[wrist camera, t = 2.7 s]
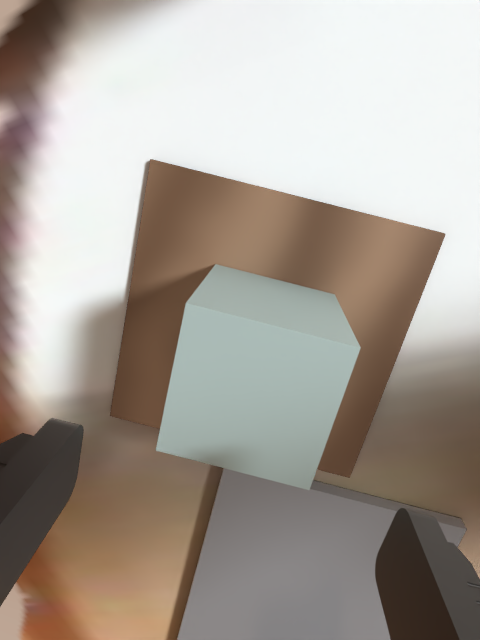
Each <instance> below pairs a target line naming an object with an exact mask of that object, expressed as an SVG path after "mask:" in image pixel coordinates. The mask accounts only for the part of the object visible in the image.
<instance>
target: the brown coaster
mask: <svg viewBox="0 0 480 640" xmlns="http://www.w3.org/2000/svg"><path fill="white" fill-rule="evenodd" d="M444 237H445V233H441V232H437V231H433V230H429V229H425V228H421V227H417V226H413V225H409V224H405V223H401V222H397V221H393V220H389V219H386V218H382V217H378V216H374V215H370V214H366V213H362V212H358V211H354V210H350V209H346V208H342V207H338V206H334V205H330V204H326V203H322V202H318V201H314V200H310V199H306V198H303V197H299V196H295V195H291V194H287V193H283V192H279V191H275V190H271V189H267V188H263V187H259V186H255V185H251V184H247V183H243V182H239V181H235V180H231V179H227V178H223V177H220V176H216V175H212V174H208V173H204V172H200V171H196V170H192V169H188V168H184V167H180V166H176V165H172V164H168V163H164V162H160V161H156V160H152V159H150V165H149V172H148V178H147V184H146V191H145V197H144V203H143V210H142V216H141V222H140V229H139V235H138V241H137V248H136V254H135V260H134V267H133V273H132V279H131V285H130V292H129V298H128V304H127V311H126V317H125V323H124V330H123V336H122V342H121V349H120V355H119V361H118V368H117V374H116V380H115V387H114V393H113V399H112V406H111V412H110V416H113V417H116V418H120V419H124V420H128V421H132V422H136V423H140V424H144V425H147V426H151V427H155V428H159V429H160V427H161V422H162V417H163V412H164V407H165V402H166V398H167V393H168V388H169V383H170V378H171V373H172V368H173V363H174V359H175V354H176V349H177V344H178V339H179V334H180V329H181V325H182V320H183V315H184V310H185V305H186V302H187V301H188V300H189V298H190V297H191V296H192V294H193V293H194V292H195V290H196V289H197V288H198V287H199V285H200V284H201V283H202V281H203V280H204V279H205V277H206V276H207V275H208V273H209V272H210V271H211V270H212V268H213V267H214V266H215V264H217V265H221V266H225V267H229V268H233V269H237V270H241V271H245V272H249V273H253V274H256V275H260V276H264V277H268V278H272V279H276V280H280V281H284V282H288V283H292V284H296V285H300V286H304V287H307V288H311V289H315V290H319V291H323V292H327V293H331V294H335V296H336V298H337V300H338V302H339V304H340V306H341V308H342V310H343V312H344V314H345V317H346V319H347V321H348V323H349V325H350V327H351V329H352V331H353V333H354V335H355V337H356V339H357V341H358V343H359V345H360V347H361V348H360V351H359V354H358V357H357V359H356V362H355V365H354V368H353V370H352V373H351V376H350V379H349V382H348V384H347V387H346V390H345V393H344V395H343V398H342V401H341V404H340V407H339V409H338V412H337V415H336V418H335V420H334V423H333V426H332V429H331V432H330V434H329V437H328V440H327V443H326V445H325V448H324V451H323V454H322V456H321V459H320V462H319V465H318V468H317V469H318V470H321V471H325V472H329V473H333V474H337V475H341V476H345V477H348V478H350V475H351V473H352V470H353V468H354V465H355V463H356V460H357V458H358V455H359V453H360V450H361V448H362V445H363V442H364V440H365V437H366V435H367V432H368V430H369V427H370V425H371V422H372V420H373V417H374V415H375V412H376V409H377V407H378V404H379V402H380V399H381V397H382V394H383V392H384V389H385V387H386V384H387V382H388V379H389V377H390V374H391V371H392V369H393V366H394V364H395V361H396V359H397V356H398V354H399V351H400V349H401V346H402V344H403V341H404V338H405V336H406V333H407V331H408V328H409V326H410V323H411V321H412V318H413V316H414V313H415V311H416V308H417V305H418V303H419V300H420V298H421V295H422V293H423V290H424V288H425V285H426V283H427V280H428V278H429V275H430V272H431V270H432V267H433V265H434V262H435V260H436V257H437V255H438V252H439V250H440V247H441V245H442V242H443V239H444Z"/></svg>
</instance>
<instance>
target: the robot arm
mask: <svg viewBox="0 0 480 640" xmlns="http://www.w3.org/2000/svg"><path fill="white" fill-rule="evenodd" d="M82 439H83V426H82V425H78V424H74V423H70V422H66V421H62V420H58V419H54V418H51V419H50V420H49V421H47V423H46V424H45V425H44V426H43V427H42V428H41V429H40V430H39V431H38V432H37V433H36V434H35V435H34V436H32V435H28V434H24V433H22V434H20V435H18V436H16V437H14V438H12V439H10V440H7V441H5V442H3V443H1V444H0V606H1V605H2V603H3V601H4V600H5V598H6V597H7V595H8V594H9V592H10V591H11V589H12V587H13V586H14V584H15V583H16V581H17V580H18V578H19V577H20V575H21V573H22V572H23V570H24V569H25V567H26V566H27V564H28V563H29V561H30V559H31V558H32V556H33V555H34V553H35V552H36V550H37V549H38V547H39V545H40V544H41V542H42V541H43V539H44V538H45V536H46V535H47V533H48V531H49V530H50V528H51V527H52V525H53V524H54V522H55V521H56V519H57V517H58V516H59V514H60V513H61V511H62V510H63V508H64V507H65V505H66V503H67V502H68V500H69V498H70V496H71V494H72V491H73V489H74V486H75V483H76V479H77V474H78V467H79V460H80V453H81V446H82ZM375 578H376V584H377V588H378V592H379V596H380V600H381V603H382V607H383V611H384V615H385V619H386V623H387V627H388V631H389V635H390V639H391V640H480V579H479V577H478V575H477V573H476V572H475V570H474V568H473V566H472V564H471V563H470V562H469V560H468V559H467V558H466V557H465V556H464V555H463V554H462V552H461V551H460V550H459V549H458V548H457V547H456V546H455V544H454V543H450V542H447V540H446V538H445V536H444V534H443V531H442V529H441V527H440V525H439V523H438V521H437V519H436V518H435V517H434V516H433V515H429V514H425V513H421V512H418V511H414V510H410V509H406V508H400V509H399V510H398V511H397V512H396V514H395V516H394V519H393V521H392V523H391V525H390V527H389V530H388V532H387V534H386V536H385V538H384V541H383V543H382V545H381V547H380V549H379V552H378V554H377V558H376V563H375Z"/></svg>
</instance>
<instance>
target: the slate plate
mask: <svg viewBox="0 0 480 640" xmlns="http://www.w3.org/2000/svg"><path fill="white" fill-rule="evenodd" d="M400 508H406V509H410V510H414V511H418V512H421V513H425V514H429V515H433V516H434V517H435V518H436V519H437V521H438V523H439V525H440V527H441V529H442V531H443V534H444V536H445V538H446V540H447V542H450V543H454V544H455V546H456V547H458V545H459V543H460V541H461V540H462V538H463V536H464V534H465V532H466V530H467V529H466V527H465V525H464V523H463V521H462V519H461V518H457V517H453V516H449V515H445V514H441V513H437V512H433V511H430V510H426V509H422V508H418V507H414V506H410V505H406V504H403V503H399V502H395V501H391V500H387V499H383V498H379V497H376V496H372V495H368V494H364V493H360V492H356V491H352V490H348V489H345V488H341V487H337V486H333V485H329V484H325V483H321V482H318V481H314V480H313V481H312V484H311V487H310V490H306V489H303V488H299V487H295V486H291V485H287V484H283V483H279V482H276V481H272V480H268V479H264V478H260V477H256V476H252V475H249V474H245V473H241V472H237V471H233V470H229V469H225V468H223V471H222V475H221V479H220V482H219V486H218V490H217V493H216V497H215V501H214V504H213V508H212V512H211V515H210V519H209V523H208V526H207V530H206V534H205V537H204V541H203V545H202V548H201V552H200V556H199V559H198V563H197V567H196V570H195V574H194V578H193V581H192V585H191V589H190V592H189V596H188V600H187V603H186V607H185V611H184V614H183V618H182V622H181V626H180V629H179V633H178V637H177V640H391V639H390V635H389V631H388V627H387V623H386V619H385V615H384V611H383V607H382V603H381V600H380V596H379V592H378V588H377V584H376V578H375V563H376V558H377V554H378V552H379V549H380V547H381V545H382V543H383V541H384V538H385V536H386V534H387V532H388V530H389V527H390V525H391V523H392V521H393V519H394V516H395V514H396V512H397V511H398V510H399V509H400Z"/></svg>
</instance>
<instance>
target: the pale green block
mask: <svg viewBox="0 0 480 640" xmlns="http://www.w3.org/2000/svg"><path fill="white" fill-rule="evenodd" d="M360 348H361V347H360V345H359V343H358V341H357V339H356V337H355V335H354V333H353V331H352V329H351V327H350V325H349V323H348V321H347V319H346V317H345V314H344V312H343V310H342V308H341V306H340V304H339V302H338V300H337V298H336V296H335V294H331V293H327V292H323V291H319V290H315V289H311V288H307V287H304V286H300V285H296V284H292V283H288V282H284V281H280V280H276V279H272V278H268V277H264V276H260V275H256V274H253V273H249V272H245V271H241V270H237V269H233V268H229V267H225V266H221V265H217V264H215V266H214V267H213V268H212V270H211V271H210V272H209V273H208V275H207V276H206V277H205V279H204V280H203V281H202V283H201V284H200V285H199V287H198V288H197V289H196V290H195V292H194V293H193V294H192V296H191V297H190V298H189V300H188V301H187V302H186V305H185V310H184V315H183V320H182V325H181V329H180V334H179V339H178V344H177V349H176V354H175V359H174V363H173V368H172V373H171V378H170V383H169V388H168V393H167V398H166V402H165V407H164V412H163V417H162V422H161V427H160V432H159V437H158V441H157V446H156V451H160V452H164V453H167V454H171V455H175V456H179V457H183V458H187V459H191V460H194V461H198V462H202V463H206V464H210V465H214V466H218V467H221V468H225V469H229V470H233V471H237V472H241V473H245V474H249V475H252V476H256V477H260V478H264V479H268V480H272V481H276V482H279V483H283V484H287V485H291V486H295V487H299V488H303V489H306V490H310V487H311V484H312V481H313V479H314V476H315V473H316V470H317V468H318V465H319V462H320V459H321V456H322V454H323V451H324V448H325V445H326V443H327V440H328V437H329V434H330V432H331V429H332V426H333V423H334V420H335V418H336V415H337V412H338V409H339V407H340V404H341V401H342V398H343V395H344V393H345V390H346V387H347V384H348V382H349V379H350V376H351V373H352V370H353V368H354V365H355V362H356V359H357V357H358V354H359V351H360Z"/></svg>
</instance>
